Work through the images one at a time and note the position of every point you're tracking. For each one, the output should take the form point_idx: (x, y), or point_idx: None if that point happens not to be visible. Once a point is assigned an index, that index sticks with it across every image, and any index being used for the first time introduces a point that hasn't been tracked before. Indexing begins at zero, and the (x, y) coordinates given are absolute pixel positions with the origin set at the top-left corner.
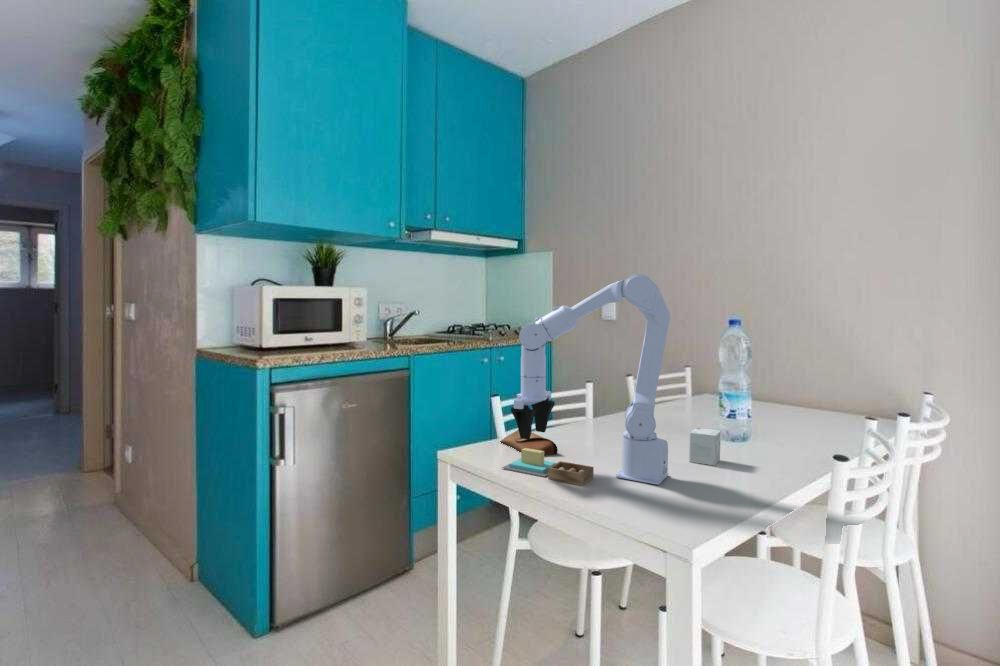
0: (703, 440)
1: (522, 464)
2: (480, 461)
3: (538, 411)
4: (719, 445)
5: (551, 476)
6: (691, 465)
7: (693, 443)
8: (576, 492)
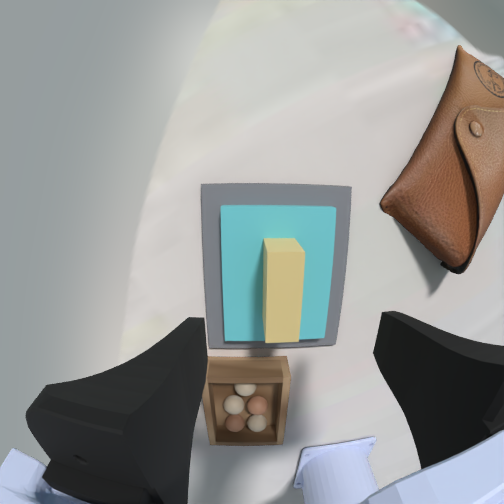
0: None
1: (241, 255)
2: (240, 67)
3: (444, 392)
4: None
5: None
6: (415, 465)
7: None
8: None
